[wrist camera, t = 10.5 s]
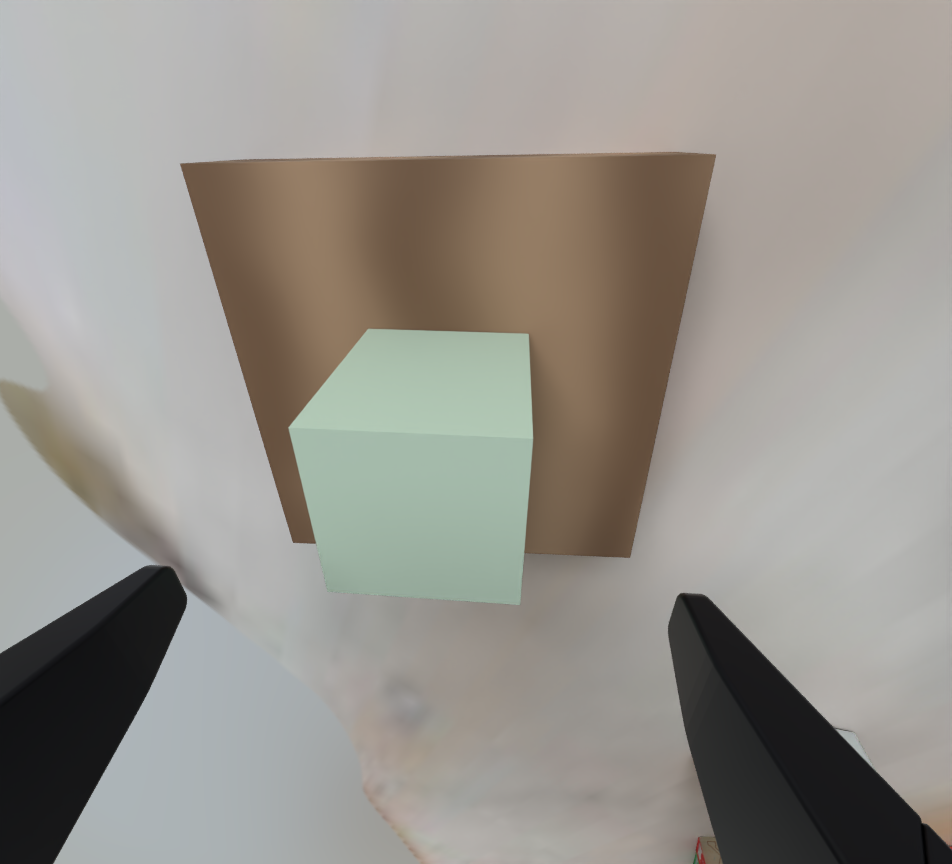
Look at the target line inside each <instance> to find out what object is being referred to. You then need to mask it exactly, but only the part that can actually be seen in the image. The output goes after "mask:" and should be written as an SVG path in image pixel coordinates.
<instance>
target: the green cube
mask: <svg viewBox="0 0 952 864" xmlns="http://www.w3.org/2000/svg"><path fill="white" fill-rule="evenodd" d="M288 428H289V432H290V436H291V441H292V445H293V449H294V453H295V457H296V461H297V466H298V470H299V474H300V478H301V482H302V487H303V491H304V495H305V499H306V503H307V507H308V512H309V516H310V520H311V524H312V528H313V533H314V537H315V541H316V545H317V549H318V553H319V558H320V562H321V566H322V570H323V574H324V579H325V583H326V587H327V591H328V592H338V593H353V594H368V595H382V596H397V597H411V598H426V599H440V600H455V601H469V602H484V603H499V604H513V605H520V599H521V586H522V574H523V561H524V548H525V536H526V523H527V511H528V498H529V485H530V473H531V460H532V447H533V423H532V399H531V375H530V352H529V334H522V333H490V332H458V331H425V330H393V329H368V330H367V331H366V332H365V333H364V335H363V336H362V337H361V338H360V340H359V341H358V342H357V343H356V344H355V346H354V347H353V348H352V349H351V351H350V352H349V353H348V354H347V356H346V357H345V358H344V359H343V361H342V362H341V363H340V364H339V366H338V367H337V368H336V369H335V370H334V372H333V373H332V374H331V375H330V377H329V378H328V379H327V380H326V382H325V383H324V384H323V385H322V387H321V388H320V389H319V390H318V392H317V393H316V394H315V395H314V396H313V398H312V399H311V400H310V401H309V403H308V404H307V405H306V406H305V408H304V409H303V410H302V411H301V413H300V414H299V415H298V416H297V418H296V419H295V420H294V421H293V423H292V424H291V425H290V426H289V427H288Z"/></svg>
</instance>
